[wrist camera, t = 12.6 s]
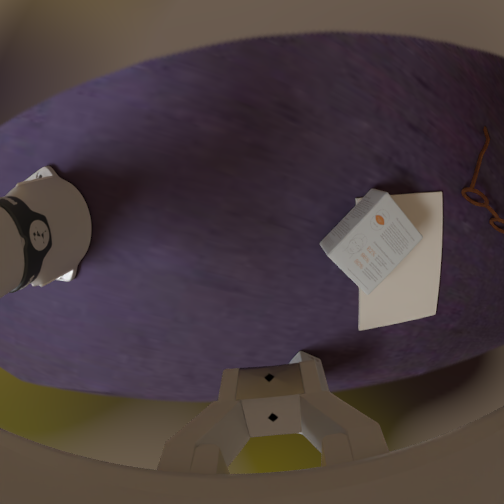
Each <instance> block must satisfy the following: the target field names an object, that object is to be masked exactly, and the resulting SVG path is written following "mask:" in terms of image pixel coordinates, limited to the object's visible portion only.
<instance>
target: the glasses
mask: <svg viewBox="0 0 504 504" xmlns="http://www.w3.org/2000/svg"><path fill="white" fill-rule="evenodd" d="M483 130H484V133H485V137H486V142H485V145H484V147H483V149H482V151H481V153H480V154H479V157H478V161H477V165H476V168H475V172H474V175H473V178H472V182H471V185H470V188H469V187H467V188H463V189H462V192H461V193H462V196H463V197H464V198H465V199H466V200H467V201H469V202H470V203H472V204H474V205H476V206H481V207H486V208H487V209H488V210H489V211H490V212H491V213H492V214H493V215H494V216H495V218H491V219H490V221H489V222H490V224H491V225H492V227H493V228H494V229H496V230H497V231H499V232H501V233H504V230H502V229H500V228H498V227H497V226H495V225H494V223H493V221H498V222H501V223H503V224H504V220H503V219H501V218H499V216H498V215H497V213H496V212H495V211H494V210H493V209H492V208H491V207H490V206H488V204H489V201H488V199H487V197H486V196H485V195H484V194H483V193H482V192H480V191H478V190H477V189H474V186H475V182H476V179H477V176H478V172H479V169H480V165H481V161H482V157H483V155H484V153H485V151H486V149H487V147H488V144H489V141H490V138H489V135H488V131H487V128H486V126H484V129H483ZM465 192H474V193H476V194H478V195H480V196H481V197H482V198H483V199H484V201H485V203H478V202H475V201H473V200H471V199H470V198H469V197H468V196H467V195H466V193H465Z"/></svg>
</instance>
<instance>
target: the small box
mask: <svg viewBox="0 0 504 504" xmlns="http://www.w3.org/2000/svg"><path fill="white" fill-rule="evenodd" d="M422 238H423V236H422V235H421V233H420V232H419V231H418V230H417V229H416V228H415V227H414V225H413V224H412V223H411V221H410V220H409V219H408V218H407V216H406V215H405V214H404V212H403V211H402V210H401V209H400V207H399V206H398V205H397V204H396V202H395V201H394V200H393V199H392V197H391V196H390V194H389V193H388V192H385V191H381V190H377V189H373V188H372V189H370V191H369V192H368V193H367V194H366V195H365V196H364V197H363V198H362V199H361V200H360V201H359V202H358V203H357V204H356V206H355V207H354V208H353V209H352V210H351V211H350V212H349V213H348V214H347V215H346V216H345V217H344V218H343V219H342V220H341V221H340V222H339V223H338V224H337V225H336V226H335V227H334V228H333V230H332V231H331V232H330V233H329V234H328V235H327V236H326V237H325V238H324V239H323V240H322V241H321V242H320V246H321V247H322V248H323V250H324V252H325V253H326V255H327V256H328V257H329V258H330V259H331V260H332V261H333V262H334V263H335V264H336V265H337V266H338V267H339V268H340V269H341V270H342V271H343V272H344V273H345V274H346V275H347V276H348V277H349V278H350V279H351V280H352V281H353V282H354V283H355V284H356V285H357V286H358V287H359V288H360V289H361V290H362V291H363V292H364V293H365V294H366V295H369V294H370V293H371V292H372V291H373V290H374V289H375V288H376V287H377V286H378V285H379V284H380V283H381V282H382V281H383V280H384V279H385V278H386V277H387V276H388V275H389V274H390V273H391V272H392V271H393V270H394V268H396V266H397V265H398V264H399V263H400V262H401V261H402V260H403V259H404V258H405V257H406V256H407V255H408V254H409V253H410V252H411V251H412V250H413V248H414V247H415V246H416V245H417V244H418V243H419V242H420V241H421V240H422Z"/></svg>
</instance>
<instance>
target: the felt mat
mask: <svg viewBox="0 0 504 504" xmlns="http://www.w3.org/2000/svg"><path fill="white" fill-rule="evenodd" d="M390 196H391V197H392V199H393V200H394V201H395V202H396V204H397V205H398V206H399V207H400V209H401V210H402V211H403V212H404V214H405V215H406V216H407V218H408V219H409V220H410V221H411V223H412V224H413V225H414V227H415V228H416V229H417V230H418V231H419V232H420V233H421V235H422V236H423V238H422V240H421V241H420V242H419V243H418V244H417V245H416V246H415V247H414V248H413V250H412V251H411V252H410V253H409V254H408V255H407V256H406V257H405V258H404V259H403V260H402V261H401V262H400V263H399V264H398V265H397V266H396V268H394V270H393V271H392V272H391V273H390V274H389V275H388V276H387V277H386V278H385V279H384V280H383V281H382V282H381V283H380V284H379V285H378V286H377V287H376V288H375V289H374V290H373V291H372V292H371V293H370V294H369V295H366V294H365V293H364V292H363V291H362V290H361V289H360V288H359V325H358V329H359V331H361V330H366V329H371V328H376V327H382V326H387V325H391V324H396V323H401V322H405V321H410V320H414V319H419V318H423V317H427V316H431V315H435V314H436V308H437V300H438V291H439V281H440V269H441V254H442V224H443V208H442V192H440V191H439V192H424V193H410V194H397V195H390ZM361 199H362V198H355V201H356V204H357V203H358V202H359V201H360V200H361Z"/></svg>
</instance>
